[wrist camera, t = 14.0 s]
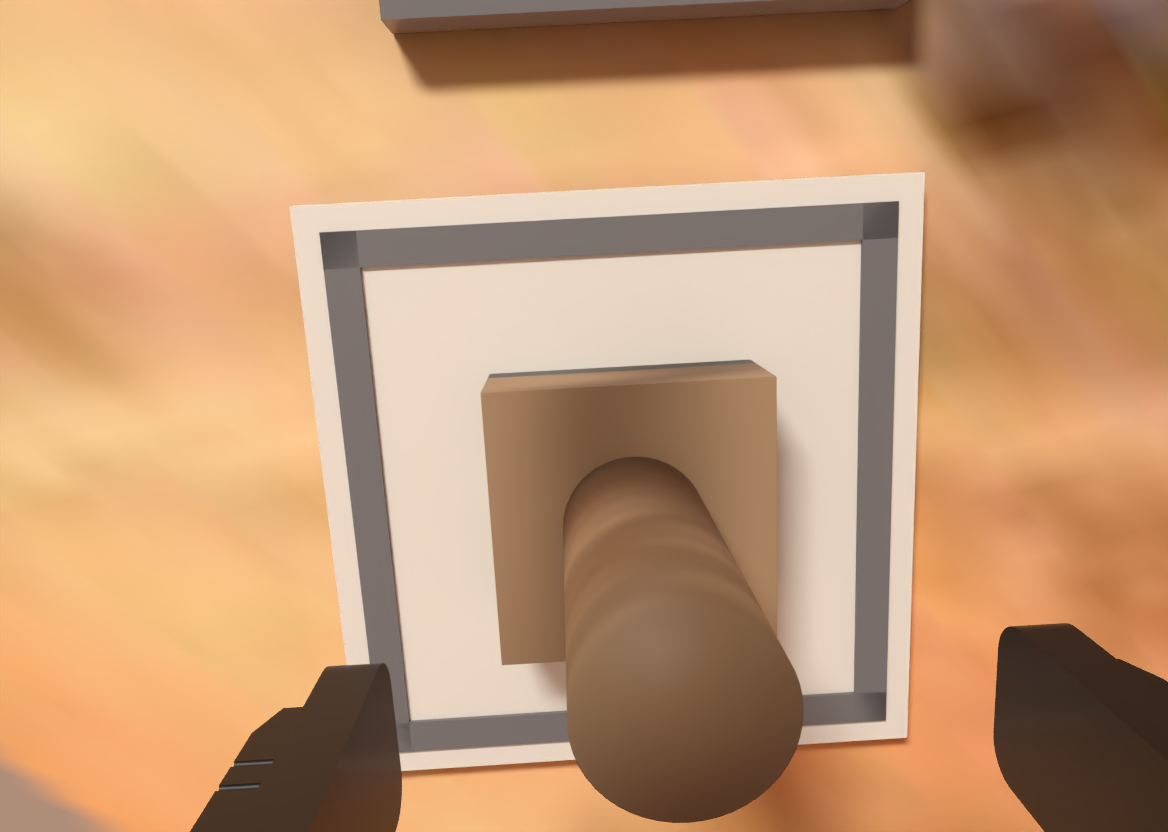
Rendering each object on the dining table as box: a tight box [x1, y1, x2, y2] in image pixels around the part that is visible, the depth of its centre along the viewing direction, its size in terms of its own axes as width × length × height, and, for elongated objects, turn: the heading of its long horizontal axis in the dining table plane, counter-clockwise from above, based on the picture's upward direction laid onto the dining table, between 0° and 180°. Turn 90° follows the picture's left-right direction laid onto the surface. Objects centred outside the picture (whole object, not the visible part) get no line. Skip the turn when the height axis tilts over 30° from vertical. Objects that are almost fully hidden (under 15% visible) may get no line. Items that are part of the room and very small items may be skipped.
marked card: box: [290, 172, 925, 771], centre depth 20 cm, size 14×14×1 cm
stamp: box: [481, 360, 804, 823], centre depth 15 cm, size 6×6×10 cm
